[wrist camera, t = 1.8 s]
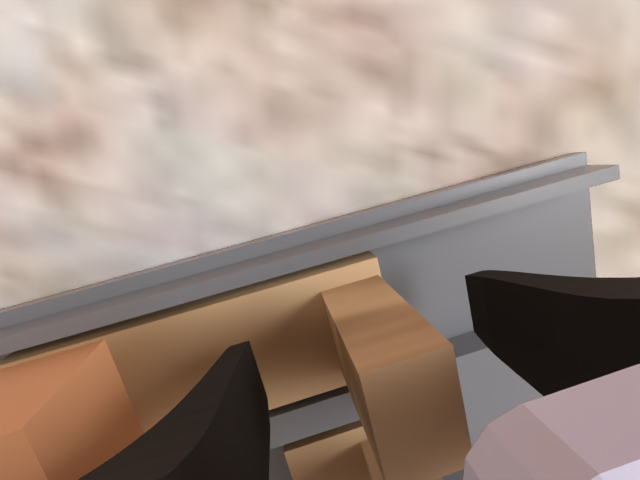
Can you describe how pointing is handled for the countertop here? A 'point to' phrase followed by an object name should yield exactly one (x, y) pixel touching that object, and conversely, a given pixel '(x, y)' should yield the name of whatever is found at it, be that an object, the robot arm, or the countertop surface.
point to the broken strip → (333, 455)
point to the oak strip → (305, 358)
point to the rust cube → (63, 415)
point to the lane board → (396, 270)
